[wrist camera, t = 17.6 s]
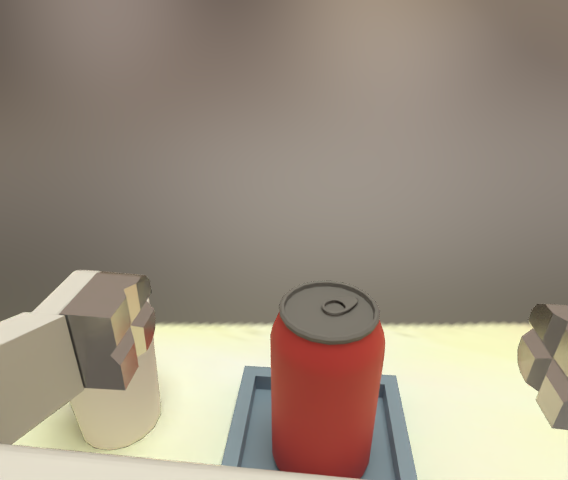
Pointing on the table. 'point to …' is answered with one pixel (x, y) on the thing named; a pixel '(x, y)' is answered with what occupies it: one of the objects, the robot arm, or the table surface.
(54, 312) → the robot arm
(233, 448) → the slate tray
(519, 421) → the table surface
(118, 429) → the white coffee cup
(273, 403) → the beer can
